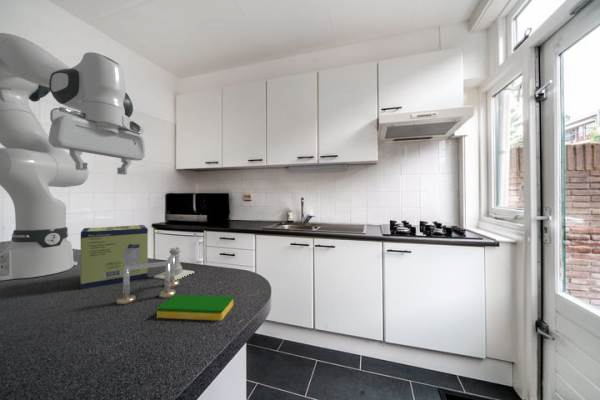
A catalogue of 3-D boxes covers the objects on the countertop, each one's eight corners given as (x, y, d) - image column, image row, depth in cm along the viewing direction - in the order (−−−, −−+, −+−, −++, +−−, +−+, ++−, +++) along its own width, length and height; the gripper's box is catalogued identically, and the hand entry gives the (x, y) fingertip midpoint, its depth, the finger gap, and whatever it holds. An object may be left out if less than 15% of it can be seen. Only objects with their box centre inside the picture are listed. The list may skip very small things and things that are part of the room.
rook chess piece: (185, 271, 76) (185, 247, 76) (176, 276, 72) (176, 250, 72) (173, 270, 77) (173, 246, 77) (163, 275, 73) (163, 249, 73)
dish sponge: (176, 304, 55) (176, 294, 55) (233, 306, 54) (233, 296, 54) (155, 319, 48) (155, 308, 48) (221, 322, 47) (221, 310, 47)
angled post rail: (112, 303, 54) (113, 266, 54) (169, 281, 69) (170, 252, 69) (142, 310, 51) (143, 271, 51) (196, 285, 66) (196, 255, 66)
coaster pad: (153, 277, 72) (153, 275, 72) (175, 270, 79) (175, 268, 79) (174, 280, 69) (174, 278, 69) (194, 273, 77) (194, 271, 77)
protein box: (82, 279, 70) (82, 227, 70) (144, 270, 80) (144, 224, 80) (79, 290, 62) (79, 231, 62) (148, 278, 72) (149, 227, 72)
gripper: (59, 101, 50) (58, 166, 50) (148, 129, 69) (148, 175, 69) (42, 105, 52) (41, 167, 52) (133, 131, 71) (133, 176, 71)
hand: (103, 172), depth 61 cm, fingers open, 8 cm apart
